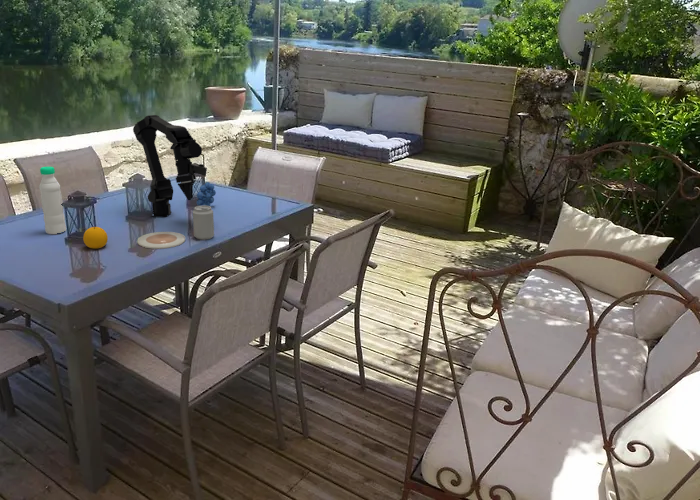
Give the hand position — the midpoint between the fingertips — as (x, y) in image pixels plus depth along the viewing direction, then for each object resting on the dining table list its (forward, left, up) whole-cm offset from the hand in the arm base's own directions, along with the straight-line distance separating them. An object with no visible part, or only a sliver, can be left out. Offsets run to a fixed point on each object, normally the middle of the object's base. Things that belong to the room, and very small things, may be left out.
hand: (190, 199), depth 225 cm
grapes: (-3, +27, -12) cm, 30 cm away
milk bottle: (-48, -15, -12) cm, 51 cm away
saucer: (-6, -18, -12) cm, 22 cm away
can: (+8, -11, -12) cm, 18 cm away
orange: (-26, -28, -12) cm, 40 cm away
